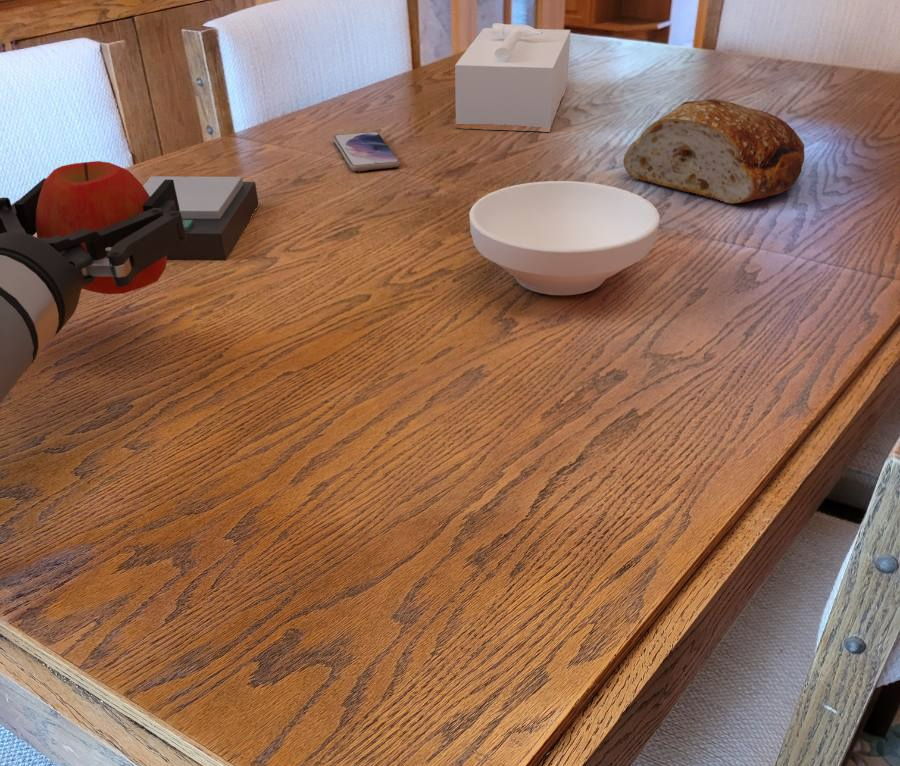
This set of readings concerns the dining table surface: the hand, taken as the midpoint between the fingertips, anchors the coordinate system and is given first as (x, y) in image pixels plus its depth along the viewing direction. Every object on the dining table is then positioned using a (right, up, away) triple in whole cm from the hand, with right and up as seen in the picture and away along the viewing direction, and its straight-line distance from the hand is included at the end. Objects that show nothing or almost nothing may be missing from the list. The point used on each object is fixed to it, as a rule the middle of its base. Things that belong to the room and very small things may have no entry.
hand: (112, 194), depth 83 cm
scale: (-1, +8, +27) cm, 28 cm away
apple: (0, -8, +2) cm, 8 cm away
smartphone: (+19, +27, +47) cm, 57 cm away
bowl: (+43, -3, +15) cm, 46 cm away
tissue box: (+42, +42, +63) cm, 87 cm away
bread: (+67, +18, +37) cm, 79 cm away
